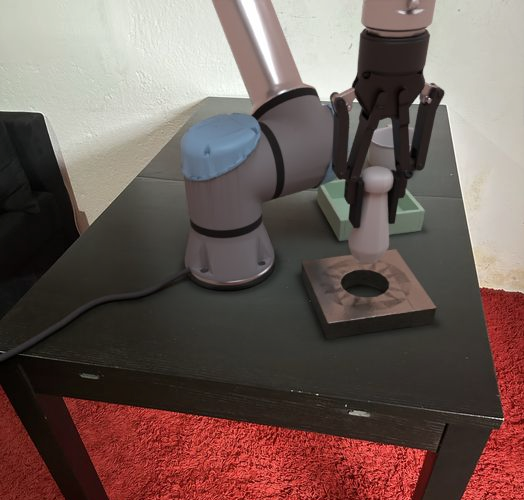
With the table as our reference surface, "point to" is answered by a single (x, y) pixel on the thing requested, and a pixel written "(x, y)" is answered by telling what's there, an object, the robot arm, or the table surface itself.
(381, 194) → the salt shaker
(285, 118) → the robot arm
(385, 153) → the teacup
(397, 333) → the table surface
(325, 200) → the green square tray
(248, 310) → the table surface
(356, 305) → the drain plate
